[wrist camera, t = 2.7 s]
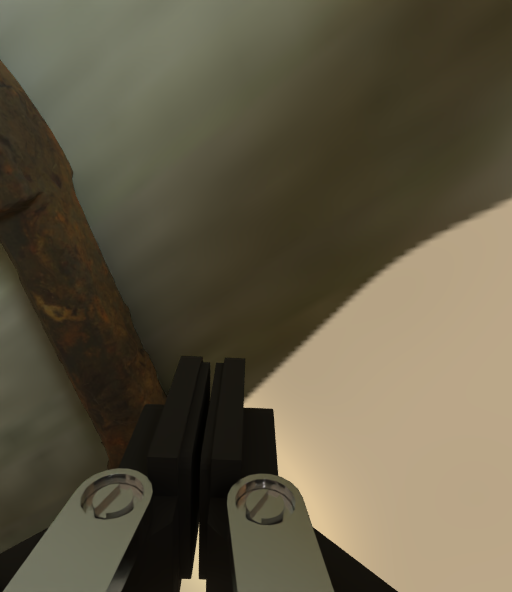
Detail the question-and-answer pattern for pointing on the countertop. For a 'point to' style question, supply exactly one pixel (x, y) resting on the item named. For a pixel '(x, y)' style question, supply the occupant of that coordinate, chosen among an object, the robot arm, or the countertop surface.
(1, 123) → the hand tool
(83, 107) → the countertop surface
